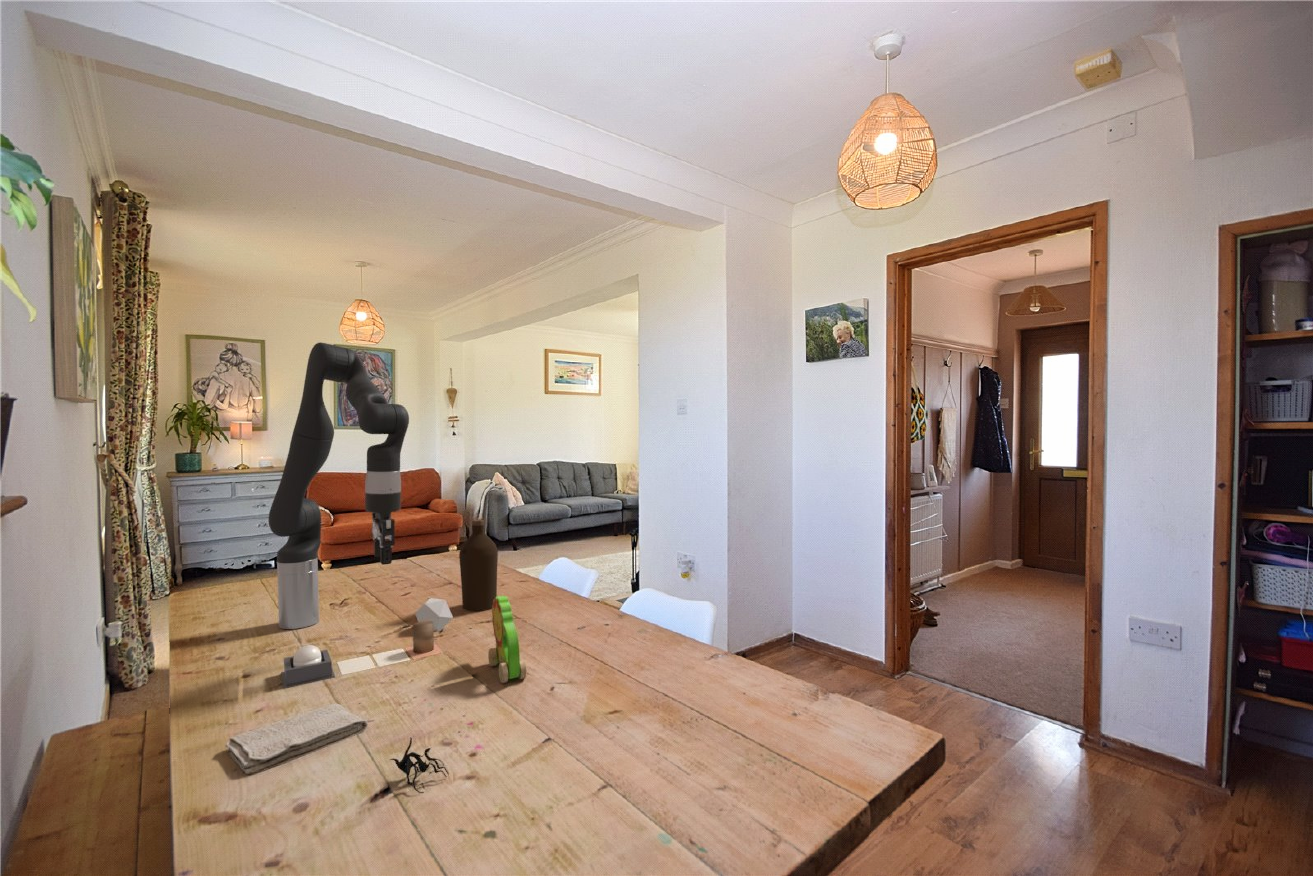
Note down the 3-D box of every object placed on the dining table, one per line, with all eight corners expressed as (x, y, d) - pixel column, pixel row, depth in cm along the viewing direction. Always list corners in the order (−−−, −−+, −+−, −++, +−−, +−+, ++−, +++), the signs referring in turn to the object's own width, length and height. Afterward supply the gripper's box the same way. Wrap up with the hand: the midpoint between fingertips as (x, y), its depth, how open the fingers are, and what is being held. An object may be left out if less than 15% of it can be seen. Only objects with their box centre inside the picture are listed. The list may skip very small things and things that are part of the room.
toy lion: (528, 681, 121) (527, 606, 121) (501, 687, 118) (499, 611, 118) (509, 655, 135) (508, 588, 135) (485, 659, 133) (483, 591, 132)
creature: (456, 771, 92) (407, 759, 92) (462, 738, 91) (414, 726, 92) (434, 803, 84) (381, 789, 84) (441, 767, 84) (388, 754, 84)
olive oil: (490, 612, 166) (488, 523, 166) (454, 612, 167) (452, 523, 167) (504, 601, 177) (502, 517, 176) (469, 600, 178) (467, 517, 177)
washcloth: (222, 754, 96) (221, 735, 96) (339, 712, 110) (338, 695, 110) (246, 782, 88) (245, 761, 88) (368, 733, 102) (368, 715, 102)
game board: (332, 665, 130) (332, 661, 130) (436, 643, 143) (436, 640, 143) (338, 681, 122) (338, 677, 122) (447, 656, 135) (447, 652, 135)
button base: (281, 677, 125) (280, 658, 125) (330, 666, 130) (329, 648, 130) (283, 692, 117) (282, 672, 117) (335, 680, 122) (334, 661, 122)
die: (459, 630, 154) (451, 595, 159) (446, 623, 147) (438, 587, 151) (429, 643, 153) (422, 608, 158) (414, 637, 146) (407, 600, 150)
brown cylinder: (411, 649, 137) (410, 623, 137) (431, 645, 140) (430, 619, 139) (415, 655, 134) (415, 628, 133) (436, 650, 136) (435, 624, 136)
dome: (292, 671, 124) (292, 645, 124) (320, 665, 127) (319, 639, 127) (294, 679, 120) (293, 652, 120) (322, 673, 123) (322, 646, 123)
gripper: (407, 493, 133) (406, 565, 134) (394, 486, 145) (394, 552, 146) (370, 494, 129) (369, 569, 130) (360, 487, 141) (360, 555, 142)
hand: (382, 560), depth 138 cm, fingers open, 8 cm apart
